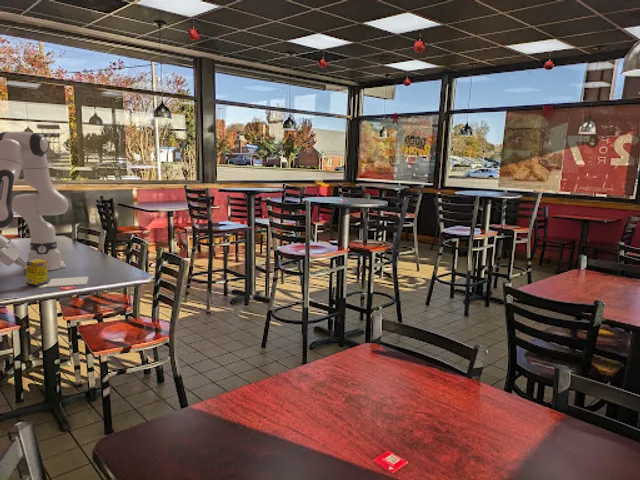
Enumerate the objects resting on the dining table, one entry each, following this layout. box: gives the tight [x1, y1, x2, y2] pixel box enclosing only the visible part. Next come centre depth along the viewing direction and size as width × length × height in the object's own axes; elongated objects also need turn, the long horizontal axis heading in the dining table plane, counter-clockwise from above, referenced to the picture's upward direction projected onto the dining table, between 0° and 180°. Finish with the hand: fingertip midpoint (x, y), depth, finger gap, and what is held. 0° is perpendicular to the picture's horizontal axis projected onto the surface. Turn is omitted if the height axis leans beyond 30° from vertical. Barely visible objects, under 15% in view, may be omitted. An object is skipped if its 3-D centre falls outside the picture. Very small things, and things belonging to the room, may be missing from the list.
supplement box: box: [25, 259, 48, 287], centre depth 215 cm, size 6×6×11 cm
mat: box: [46, 276, 89, 288], centre depth 221 cm, size 14×16×1 cm
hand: (25, 266), depth 213 cm, fingers closed
